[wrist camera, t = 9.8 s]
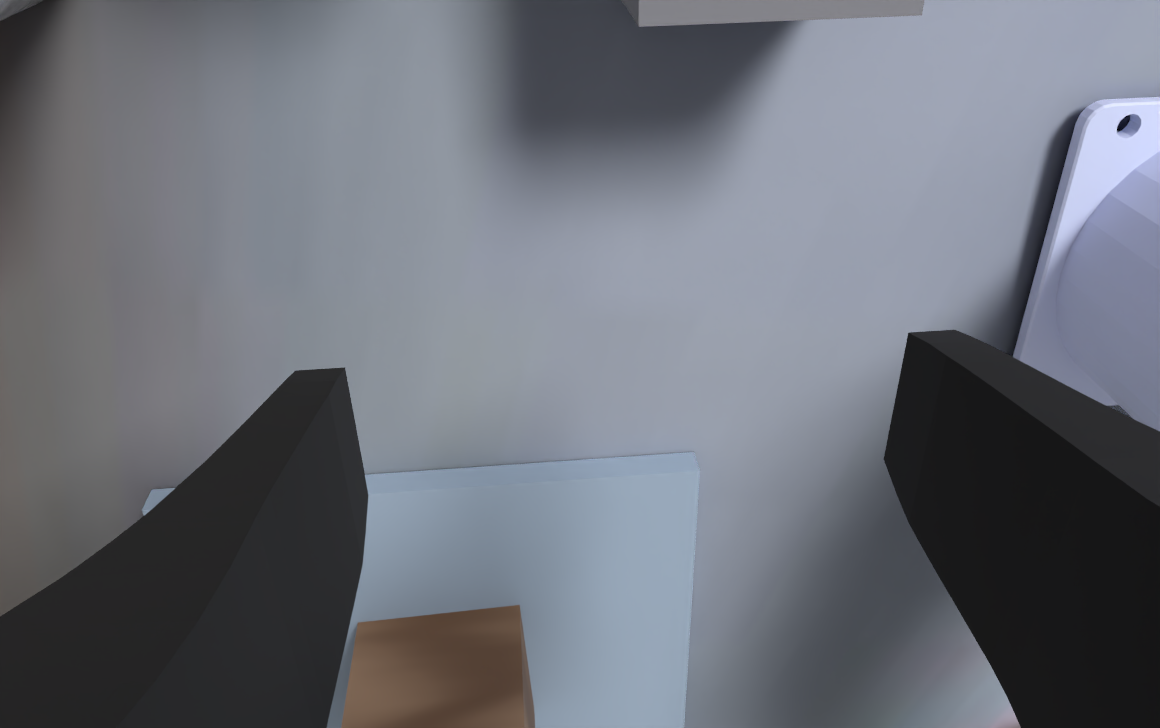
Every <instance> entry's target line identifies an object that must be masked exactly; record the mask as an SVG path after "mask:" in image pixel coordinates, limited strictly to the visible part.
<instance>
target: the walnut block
mask: <svg viewBox="0 0 1160 728" xmlns="http://www.w3.org/2000/svg"><path fill="white" fill-rule="evenodd" d="M341 728H535V713H534V703H533V696H532V689H531V682H530V675H529V668H528V660H527V653H526V646H525V639H524V632H523V625H522V618H521V611H520V605H513V606H504V607H495V608H486V609H477V610H468V611H459V612H450V613H440V614H431V615H422V616H413V617H404V618H395V619H386V620H377V621H367V622H358V624H357V631H356V637H355V643H354V650H353V656H352V662H351V669H350V675H349V681H348V688H347V694H346V700H345V706H344V713H343V719H342V725H341Z"/></svg>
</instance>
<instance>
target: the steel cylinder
mask: <svg viewBox="0 0 1160 728" xmlns="http://www.w3.org/2000/svg"><path fill="white" fill-rule="evenodd" d="M41 1H43V0H0V21H1V20H3V19H6V18H8V17H10V16H12V15H14V14H16V13H19V12H21V11H23V10H25V9H27V8H30V7H32V6H34V5H36V4H38V3H40V2H41Z"/></svg>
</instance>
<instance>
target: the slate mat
mask: <svg viewBox="0 0 1160 728" xmlns="http://www.w3.org/2000/svg"><path fill="white" fill-rule="evenodd" d="M699 478H700V469H699V466H698V463H697V460H696V457H695V453H694V452H685V453H671V454H657V455H642V456H628V457H613V458H599V459H584V460H570V461H555V462H541V463H526V464H512V465H497V466H483V467H469V468H454V469H440V470H425V471H411V472H396V473H382V474H367V475H365V479H366V485H367V490H368V495H369V496H368V509H367V522H366V535H365V545H364V556H363V565H362V570H361V575H360V580H359V584H358V589H357V593H356V598H355V603H354V607H353V612H352V616H351V621H350V625H349V630H348V634H347V639H346V643H345V647H344V652H343V656H342V661H341V665H340V670H339V674H338V679H337V683H336V687H335V692H334V696H333V701H332V705H331V710H330V714H329V719H328V724H327V728H341V725H342V719H343V713H344V706H345V700H346V694H347V688H348V681H349V675H350V669H351V662H352V656H353V650H354V643H355V637H356V631H357V624H358V622H367V621H377V620H386V619H395V618H404V617H413V616H422V615H431V614H440V613H450V612H459V611H468V610H477V609H486V608H495V607H504V606H513V605H520V611H521V618H522V625H523V632H524V639H525V646H526V653H527V660H528V668H529V675H530V682H531V689H532V696H533V703H534V713H535V728H684V721H685V705H686V689H687V673H688V656H689V640H690V624H691V608H692V592H693V575H694V559H695V543H696V527H697V511H698V495H699ZM174 489H175V488H165V489H152V490H151V492H150V494H149V496H148V498H147V500H146V503H145V505H144V507H143V509H142V512H143V515H146V514H147V513H148V512H149V511H150V510H152V509H153V508H154V507H155V506H156V505H157V504H158V503H159V502H160V501H162V500H163V499H164V498H165V497H166V496H167V495H168V494H169V493H171V492H172V491H173V490H174Z"/></svg>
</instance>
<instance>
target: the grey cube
mask: <svg viewBox="0 0 1160 728" xmlns="http://www.w3.org/2000/svg"><path fill="white" fill-rule="evenodd" d="M621 1H622V2H623V4H624V5H625V7H626V9H627V10H628V12H629V13H630V15H631V16H632V18H633V19H634V21H635V22H636V24H637V25H638V27H646V26H671V25H695V24H720V23H744V22H769V21H793V20H818V19H842V18H867V17H892V16H916V15H922V11H923V5H924V0H621Z"/></svg>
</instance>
